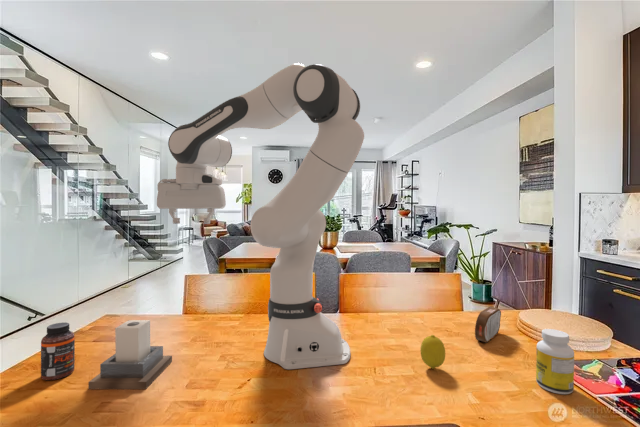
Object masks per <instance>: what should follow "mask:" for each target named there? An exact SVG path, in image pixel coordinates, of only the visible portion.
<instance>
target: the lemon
mask: <svg viewBox="0 0 640 427" xmlns="http://www.w3.org/2000/svg"><path fill="white" fill-rule="evenodd" d="M420 356H421V360H422V362H424V364H425V365H426V366H428V367H430V369H431V368H432V369H431V370H434V369H436V368H439V367H441V366H442V365H443V363H444V362H445V360H446V348H445V345H444V343H443V341H442V340H441V339H440V338H438V336H435V335H434V334H431V335H429V336H426V337H424V338H423V340H422V341H421V345H420Z"/></svg>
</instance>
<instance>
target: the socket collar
mask: <svg viewBox="0 0 640 427" xmlns="http://www.w3.org/2000/svg"><path fill="white" fill-rule="evenodd" d="M163 356H164V346H163V345H150V354H149V355H148V356H147V357H146V358H145V359H143V360H142V361H141V362H116V352H115V353H114V354H112V355H111V356H110V357H109V358H107V359H105V360H104V361H103V362H102V363H100V367H99V369H100V370H99V372H100V373H99V374H100V378H144V377H145V376H146V375H147V374H148V373H149V372H150V371H151V370H152V369H153V368H154V367H155V366H156V365H157V364H158V363H159V362H160V361H161V360H162V359H163Z"/></svg>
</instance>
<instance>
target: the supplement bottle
mask: <svg viewBox="0 0 640 427" xmlns="http://www.w3.org/2000/svg"><path fill="white" fill-rule="evenodd" d="M75 336H76V335H75V333H74V332H73V331H71V330H70V323H69V322H66V321H65V322H56V323H52V324H50V325H48V326H46V334H45V335H44V336H43V337H42V338H41V339H40V340H41V341H40V378H41V379H42V380H44V381H54V380H60V379H62V378H65V377H68V376H69V375H71V374H72V373H73V372H74V371H75V364H76V362H75V361H76V358H75V357H76V356H75V347H76V346H75V344H76V342H75V341H76V340H75Z"/></svg>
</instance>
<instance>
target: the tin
mask: <svg viewBox="0 0 640 427" xmlns="http://www.w3.org/2000/svg"><path fill="white" fill-rule="evenodd" d="M501 316H502V312H501V309H499V308H497V307H493V306H490V305H489V306H488V307H487V308H485V309H483V310H482V311H480V312H479V313H478V316H477V317H476V322H475V326H474V337H475V340H476V341H480V342H483V343H489V342H490V341H491V340H492V339H494V338H495V337H496V336H497V335H498V333H499V331H500V328H501V318H502V317H501ZM496 334H497V335H496ZM495 335H496V336H495ZM494 336H495V337H494ZM491 338H492V339H491ZM490 339H491V340H490ZM489 340H490V341H489ZM488 341H489V342H488Z"/></svg>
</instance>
